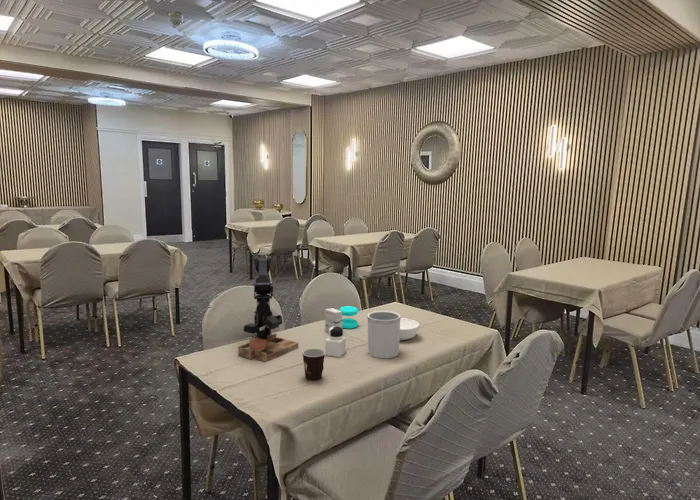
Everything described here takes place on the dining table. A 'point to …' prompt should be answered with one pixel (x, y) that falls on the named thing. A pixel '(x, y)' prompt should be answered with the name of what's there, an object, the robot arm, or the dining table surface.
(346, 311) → the donuts
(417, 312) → the dining table surface
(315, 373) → the coffee mug
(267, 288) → the robot arm
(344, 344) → the medicine bottle
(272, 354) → the brown compartment tray
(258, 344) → the block
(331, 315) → the ink box
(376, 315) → the utensil holder
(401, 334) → the bowl
